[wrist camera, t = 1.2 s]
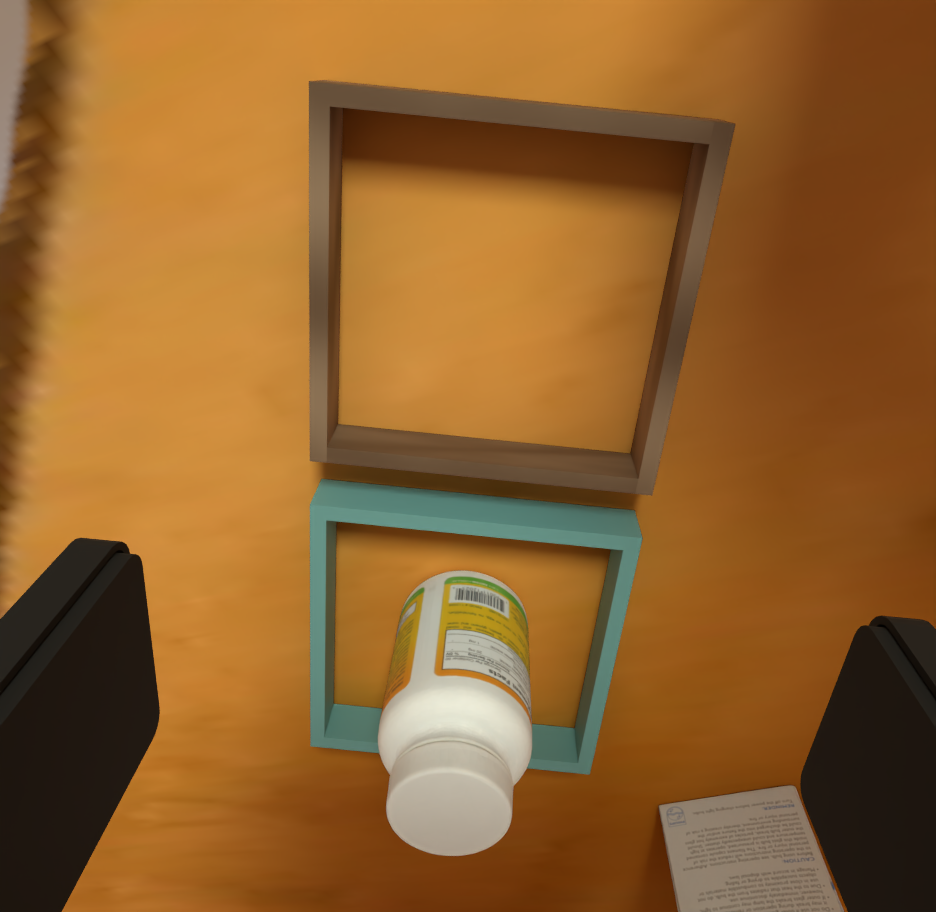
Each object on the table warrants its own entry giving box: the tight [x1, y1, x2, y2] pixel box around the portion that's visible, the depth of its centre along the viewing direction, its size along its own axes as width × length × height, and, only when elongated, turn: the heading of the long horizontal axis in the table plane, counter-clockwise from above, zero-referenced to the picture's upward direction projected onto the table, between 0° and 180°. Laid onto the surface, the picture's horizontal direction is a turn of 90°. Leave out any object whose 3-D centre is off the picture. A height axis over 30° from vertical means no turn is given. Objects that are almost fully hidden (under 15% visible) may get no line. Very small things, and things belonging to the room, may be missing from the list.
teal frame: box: [310, 479, 643, 775], centre depth 32 cm, size 12×12×2 cm
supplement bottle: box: [378, 571, 532, 856], centre depth 29 cm, size 5×5×10 cm
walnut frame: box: [309, 80, 735, 495], centre depth 26 cm, size 12×12×2 cm
